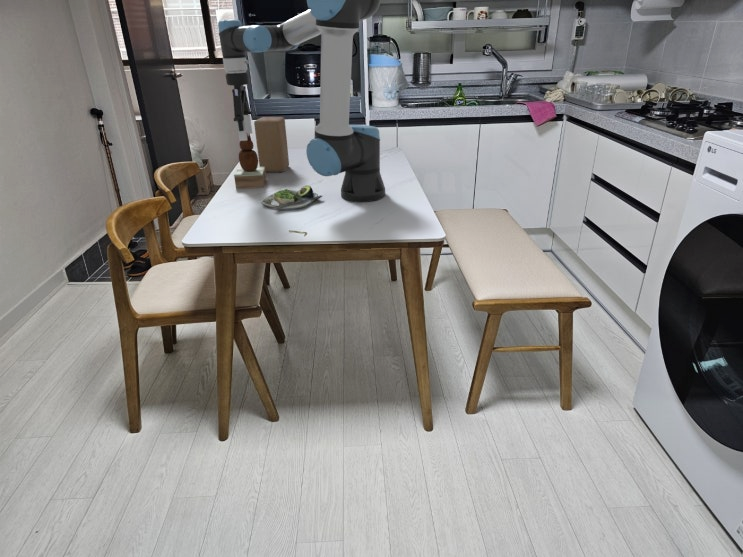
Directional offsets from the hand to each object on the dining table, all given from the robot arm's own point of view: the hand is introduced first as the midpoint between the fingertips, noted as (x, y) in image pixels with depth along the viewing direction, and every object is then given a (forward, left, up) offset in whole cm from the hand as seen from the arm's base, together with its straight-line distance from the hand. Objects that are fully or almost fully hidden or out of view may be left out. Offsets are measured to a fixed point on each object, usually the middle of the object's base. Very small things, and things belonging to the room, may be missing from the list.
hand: (246, 137), depth 172 cm
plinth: (0, 0, -17) cm, 17 cm away
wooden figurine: (0, 0, -12) cm, 12 cm away
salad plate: (-23, -16, -18) cm, 33 cm away
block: (+20, -7, -17) cm, 28 cm away
